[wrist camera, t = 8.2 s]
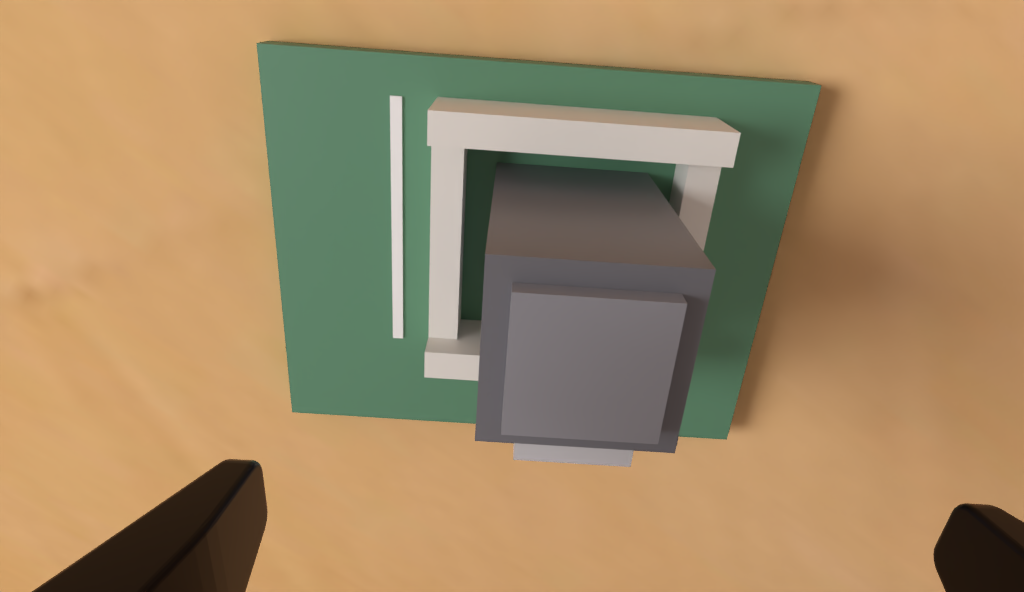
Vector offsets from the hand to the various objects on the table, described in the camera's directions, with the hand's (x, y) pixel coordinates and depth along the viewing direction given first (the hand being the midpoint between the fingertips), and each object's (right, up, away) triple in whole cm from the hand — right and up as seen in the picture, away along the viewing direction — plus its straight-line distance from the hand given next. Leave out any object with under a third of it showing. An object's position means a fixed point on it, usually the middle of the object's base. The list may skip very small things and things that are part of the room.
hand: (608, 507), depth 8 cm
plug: (0, +4, +9) cm, 10 cm away
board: (-1, +4, +11) cm, 11 cm away
